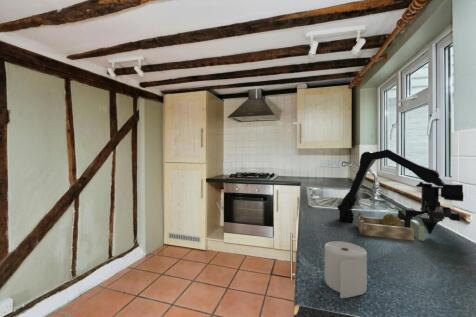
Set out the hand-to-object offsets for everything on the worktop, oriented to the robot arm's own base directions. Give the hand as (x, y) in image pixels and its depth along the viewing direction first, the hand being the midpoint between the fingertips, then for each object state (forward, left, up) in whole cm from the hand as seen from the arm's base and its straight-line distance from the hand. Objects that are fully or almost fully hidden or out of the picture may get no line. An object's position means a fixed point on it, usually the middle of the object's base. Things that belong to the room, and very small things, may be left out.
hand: (429, 233), depth 96 cm
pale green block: (-4, 0, -2) cm, 5 cm away
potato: (-14, 0, -2) cm, 14 cm away
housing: (-17, 0, -2) cm, 17 cm away
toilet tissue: (-37, -53, -2) cm, 65 cm away
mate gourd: (-5, +14, -2) cm, 15 cm away
